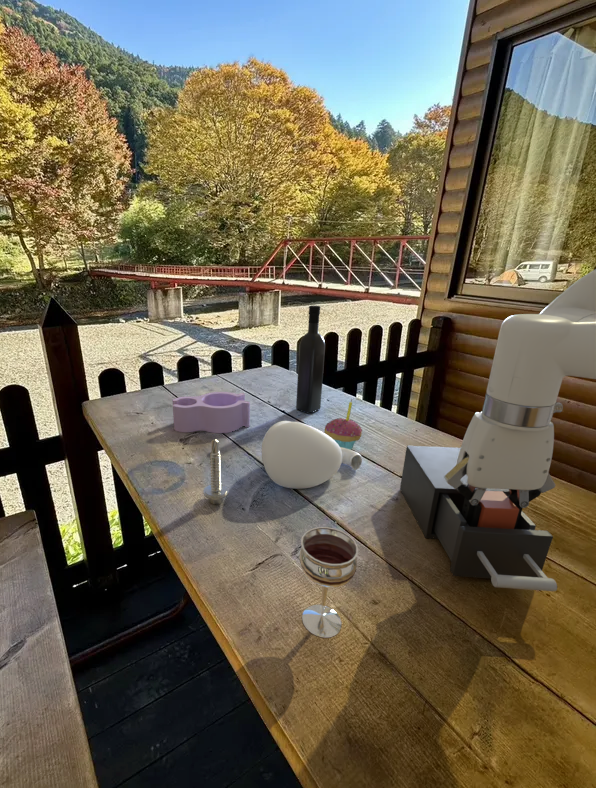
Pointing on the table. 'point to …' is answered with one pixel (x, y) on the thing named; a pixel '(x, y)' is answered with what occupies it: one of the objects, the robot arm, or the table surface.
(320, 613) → the wineglass
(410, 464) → the cabinet
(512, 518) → the block
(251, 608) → the table surface
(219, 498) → the screw
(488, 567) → the drawer
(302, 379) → the wine bottle
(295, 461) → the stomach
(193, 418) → the clip
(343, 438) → the cupcake
